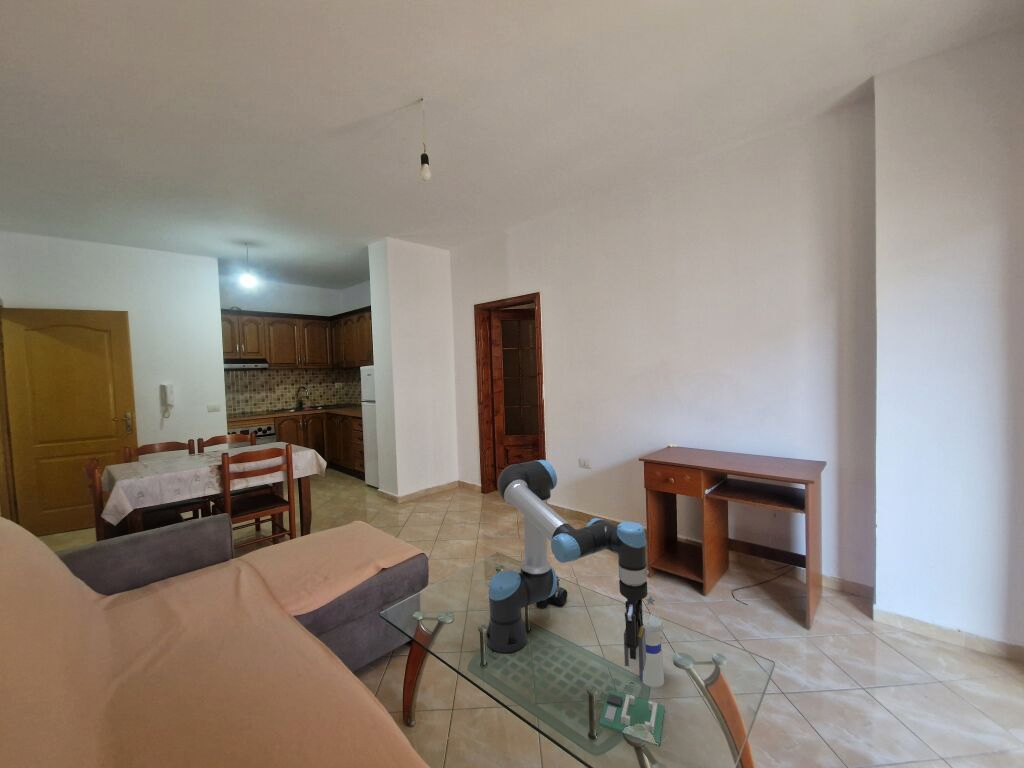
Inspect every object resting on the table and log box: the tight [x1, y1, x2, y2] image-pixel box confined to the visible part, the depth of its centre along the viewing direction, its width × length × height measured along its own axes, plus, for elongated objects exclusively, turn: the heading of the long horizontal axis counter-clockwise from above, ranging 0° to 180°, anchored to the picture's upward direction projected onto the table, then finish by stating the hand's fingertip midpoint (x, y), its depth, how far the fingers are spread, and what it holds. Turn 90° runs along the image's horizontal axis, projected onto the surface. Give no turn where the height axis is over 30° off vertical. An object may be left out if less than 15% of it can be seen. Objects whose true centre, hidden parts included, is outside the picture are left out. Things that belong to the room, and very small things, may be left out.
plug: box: [623, 626, 646, 671], centre depth 117 cm, size 5×5×9 cm
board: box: [598, 689, 665, 745], centre depth 119 cm, size 16×13×3 cm
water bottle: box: [638, 595, 665, 688], centre depth 133 cm, size 8×9×25 cm
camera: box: [535, 573, 568, 610], centre depth 179 cm, size 16×10×10 cm, turn 143°
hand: (635, 661), depth 117 cm, fingers closed on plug, 5 cm apart
